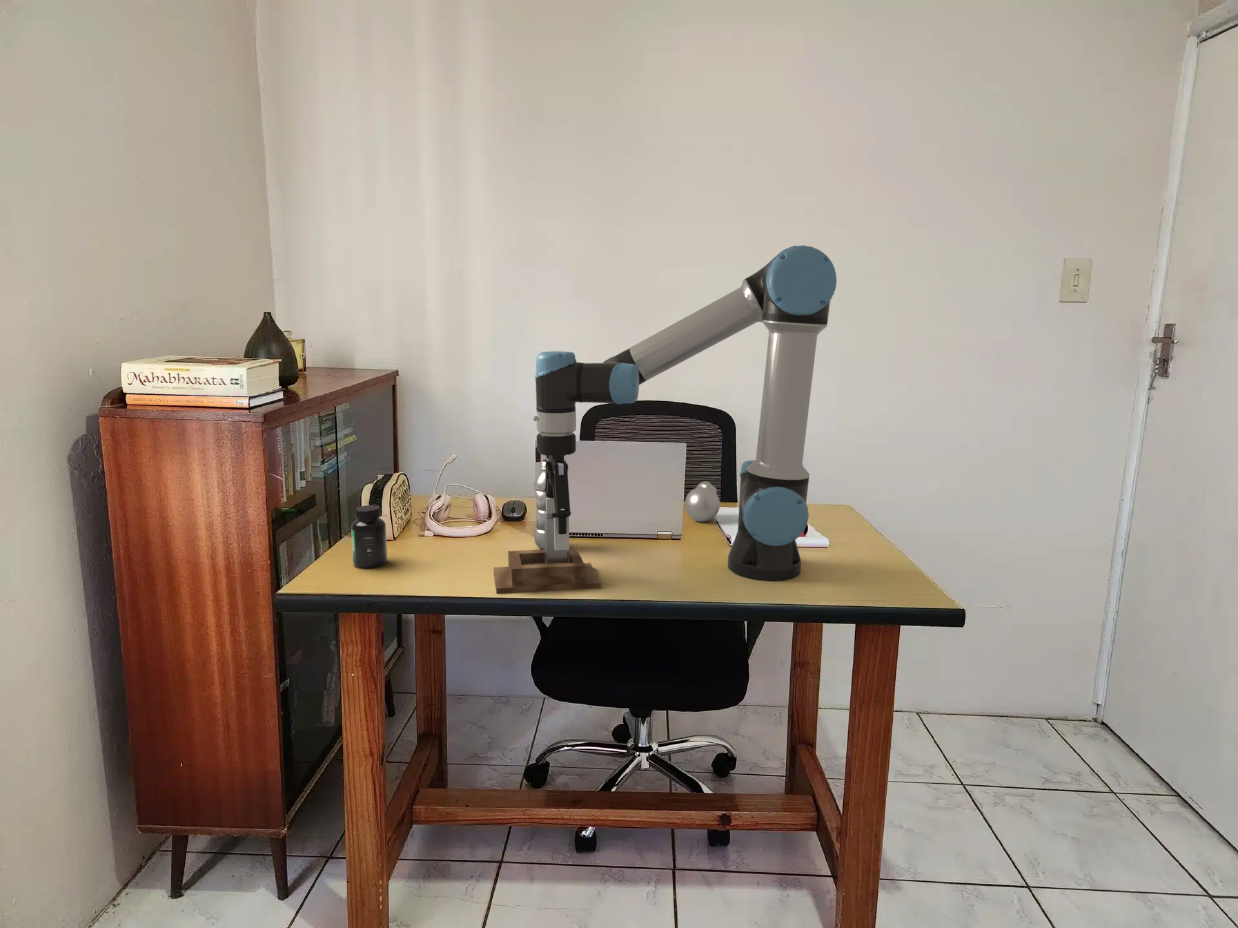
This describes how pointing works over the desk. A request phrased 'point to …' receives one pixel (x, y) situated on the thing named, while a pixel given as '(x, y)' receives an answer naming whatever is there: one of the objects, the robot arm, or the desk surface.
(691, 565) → the desk surface
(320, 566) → the desk surface
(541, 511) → the plastic bottle
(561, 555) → the bracket
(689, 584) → the desk surface
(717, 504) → the silver pear shape
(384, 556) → the supplement bottle
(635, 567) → the desk surface
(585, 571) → the well
